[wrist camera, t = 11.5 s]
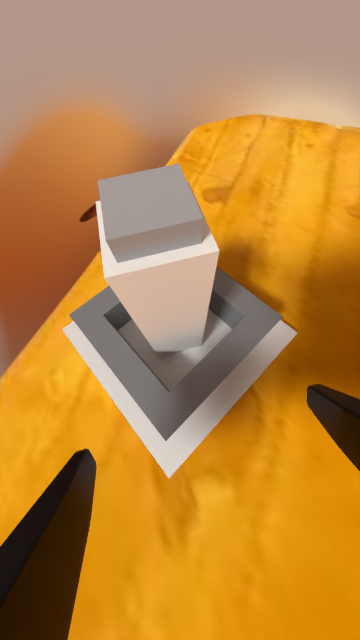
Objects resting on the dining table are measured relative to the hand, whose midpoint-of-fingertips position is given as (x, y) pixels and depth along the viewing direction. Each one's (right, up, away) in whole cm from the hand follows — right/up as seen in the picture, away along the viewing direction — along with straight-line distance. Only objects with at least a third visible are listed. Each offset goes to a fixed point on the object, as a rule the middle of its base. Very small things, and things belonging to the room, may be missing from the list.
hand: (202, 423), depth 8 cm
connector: (-1, +3, +11) cm, 11 cm away
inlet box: (-1, +3, +11) cm, 12 cm away
